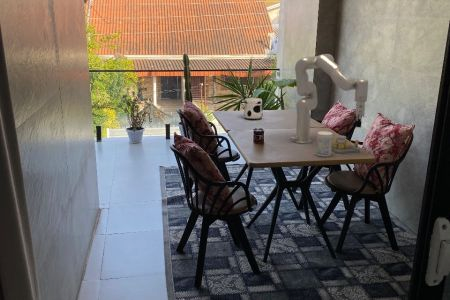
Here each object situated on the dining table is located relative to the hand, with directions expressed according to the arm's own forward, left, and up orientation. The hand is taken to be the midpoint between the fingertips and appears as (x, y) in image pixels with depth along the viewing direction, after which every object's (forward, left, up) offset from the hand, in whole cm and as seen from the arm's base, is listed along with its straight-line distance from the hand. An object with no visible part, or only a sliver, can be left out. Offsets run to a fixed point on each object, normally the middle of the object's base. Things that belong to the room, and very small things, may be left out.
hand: (358, 126), depth 285 cm
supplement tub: (-24, -1, -17) cm, 30 cm away
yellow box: (-4, +8, -15) cm, 18 cm away
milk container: (-29, +124, -17) cm, 129 cm away
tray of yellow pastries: (-6, +9, -17) cm, 20 cm away
